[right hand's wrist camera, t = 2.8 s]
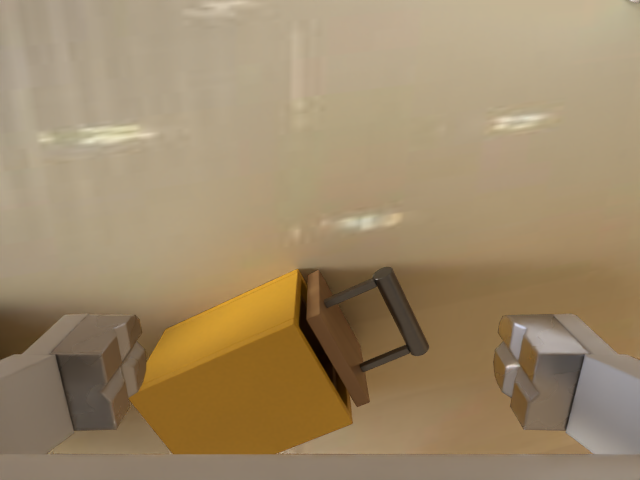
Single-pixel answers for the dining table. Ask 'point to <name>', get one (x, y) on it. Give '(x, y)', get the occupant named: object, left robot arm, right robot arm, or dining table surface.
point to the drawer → (339, 340)
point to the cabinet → (241, 378)
